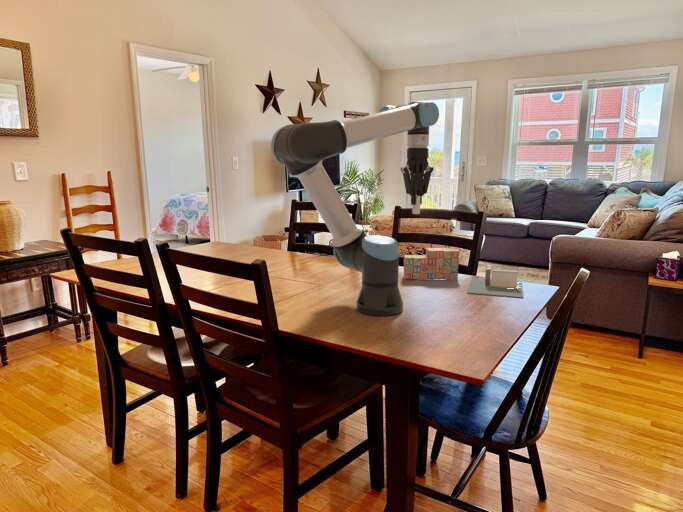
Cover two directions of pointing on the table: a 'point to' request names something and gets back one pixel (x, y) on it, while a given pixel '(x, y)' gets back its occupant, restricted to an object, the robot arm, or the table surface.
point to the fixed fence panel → (489, 266)
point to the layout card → (493, 289)
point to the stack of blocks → (432, 264)
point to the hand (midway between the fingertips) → (416, 213)
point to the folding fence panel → (501, 278)
